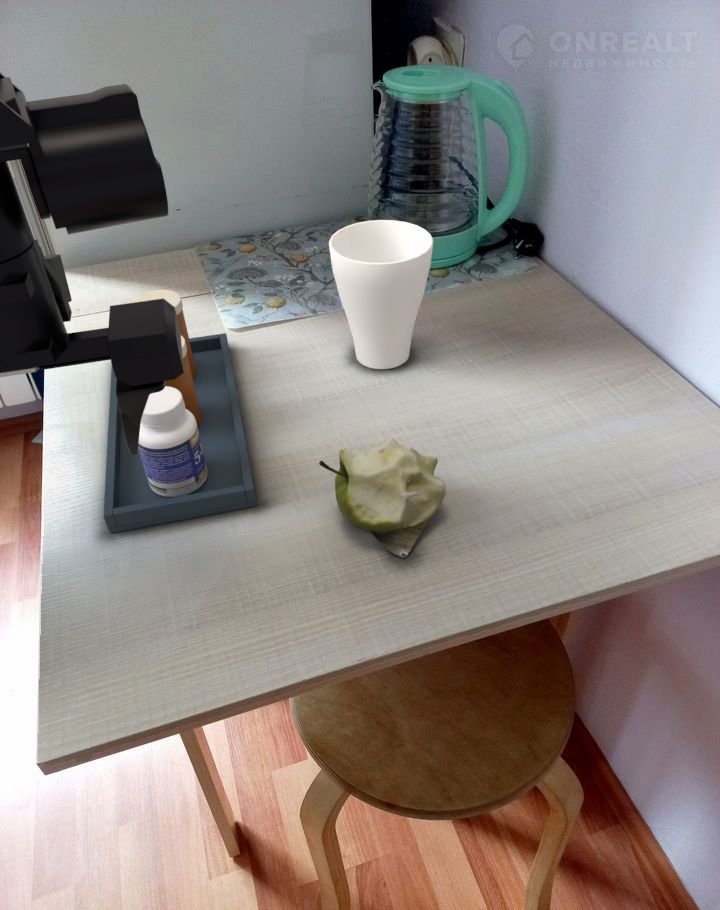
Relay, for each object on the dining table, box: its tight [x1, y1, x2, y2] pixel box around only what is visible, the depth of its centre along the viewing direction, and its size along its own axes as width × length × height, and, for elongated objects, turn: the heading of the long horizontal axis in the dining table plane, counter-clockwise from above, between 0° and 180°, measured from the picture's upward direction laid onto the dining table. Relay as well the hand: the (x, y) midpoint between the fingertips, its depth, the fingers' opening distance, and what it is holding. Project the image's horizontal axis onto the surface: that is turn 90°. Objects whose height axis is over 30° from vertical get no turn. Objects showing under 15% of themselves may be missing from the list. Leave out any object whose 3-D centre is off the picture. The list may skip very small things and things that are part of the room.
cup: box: [328, 219, 434, 370], centre depth 75 cm, size 10×10×14 cm
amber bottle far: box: [130, 289, 196, 379], centre depth 74 cm, size 5×5×9 cm
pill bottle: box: [138, 386, 207, 497], centre depth 61 cm, size 5×5×9 cm
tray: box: [102, 332, 258, 534], centre depth 70 cm, size 13×27×2 cm, turn 13°
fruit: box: [318, 436, 447, 559], centre depth 59 cm, size 9×9×8 cm
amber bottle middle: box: [165, 335, 201, 427], centre depth 67 cm, size 5×5×9 cm
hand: (66, 462), depth 49 cm, fingers open, 9 cm apart
